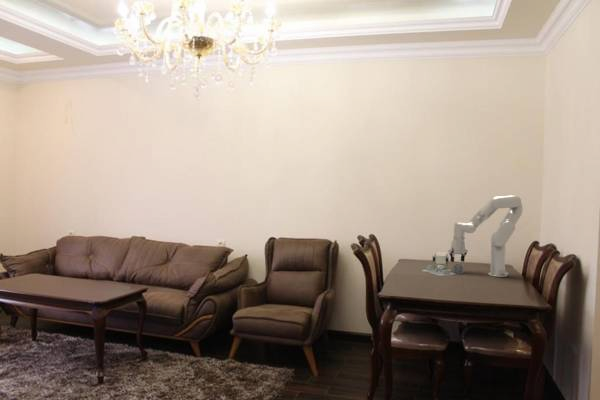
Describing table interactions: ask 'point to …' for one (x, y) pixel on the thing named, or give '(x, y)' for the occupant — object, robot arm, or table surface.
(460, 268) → the hub
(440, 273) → the seat
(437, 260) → the pneumatic valve
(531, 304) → the table surface
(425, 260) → the table surface
